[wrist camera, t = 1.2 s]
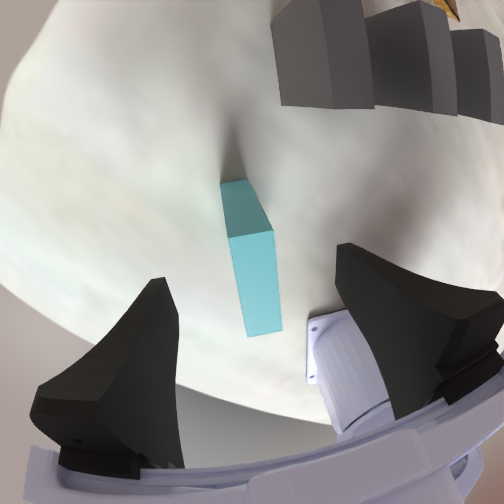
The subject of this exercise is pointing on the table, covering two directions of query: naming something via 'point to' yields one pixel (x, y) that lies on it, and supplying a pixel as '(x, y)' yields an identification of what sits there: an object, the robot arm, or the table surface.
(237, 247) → the domino
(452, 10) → the shard
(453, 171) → the table surface
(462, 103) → the domino
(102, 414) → the robot arm
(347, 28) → the domino
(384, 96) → the domino
